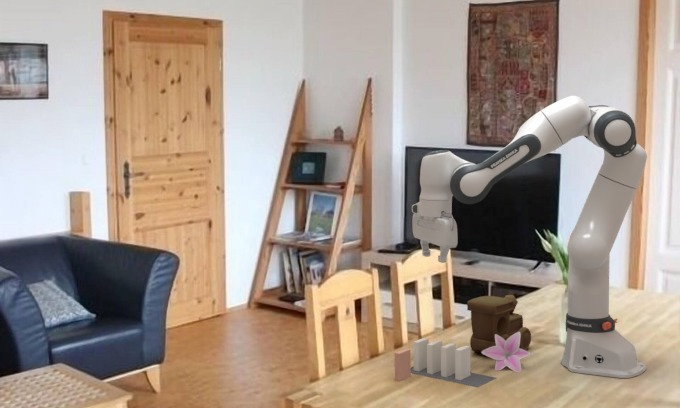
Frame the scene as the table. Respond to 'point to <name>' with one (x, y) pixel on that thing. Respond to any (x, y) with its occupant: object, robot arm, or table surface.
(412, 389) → the table surface
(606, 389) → the table surface
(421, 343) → the domino
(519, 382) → the table surface
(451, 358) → the domino
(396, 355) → the domino
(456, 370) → the domino
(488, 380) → the domino mat
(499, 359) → the lily
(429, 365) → the domino
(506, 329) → the wooden toy train
